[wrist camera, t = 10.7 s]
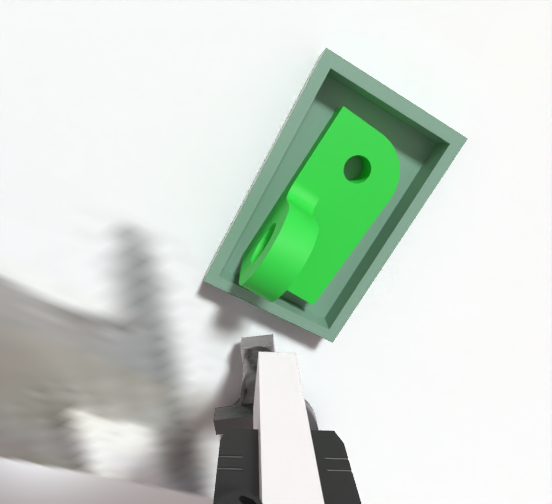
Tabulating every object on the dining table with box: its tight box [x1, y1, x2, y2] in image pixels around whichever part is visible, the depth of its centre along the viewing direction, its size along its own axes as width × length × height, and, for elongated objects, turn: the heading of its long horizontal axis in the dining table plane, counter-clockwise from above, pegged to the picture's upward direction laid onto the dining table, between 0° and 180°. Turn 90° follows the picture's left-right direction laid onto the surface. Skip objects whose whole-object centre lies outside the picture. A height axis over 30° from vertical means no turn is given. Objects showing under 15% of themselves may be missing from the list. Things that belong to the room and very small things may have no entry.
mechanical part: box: [239, 106, 400, 305], centre depth 23 cm, size 12×6×8 cm, turn 147°
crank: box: [214, 334, 275, 435], centre depth 26 cm, size 12×5×8 cm, turn 6°
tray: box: [203, 48, 467, 342], centre depth 26 cm, size 11×17×2 cm, turn 151°
